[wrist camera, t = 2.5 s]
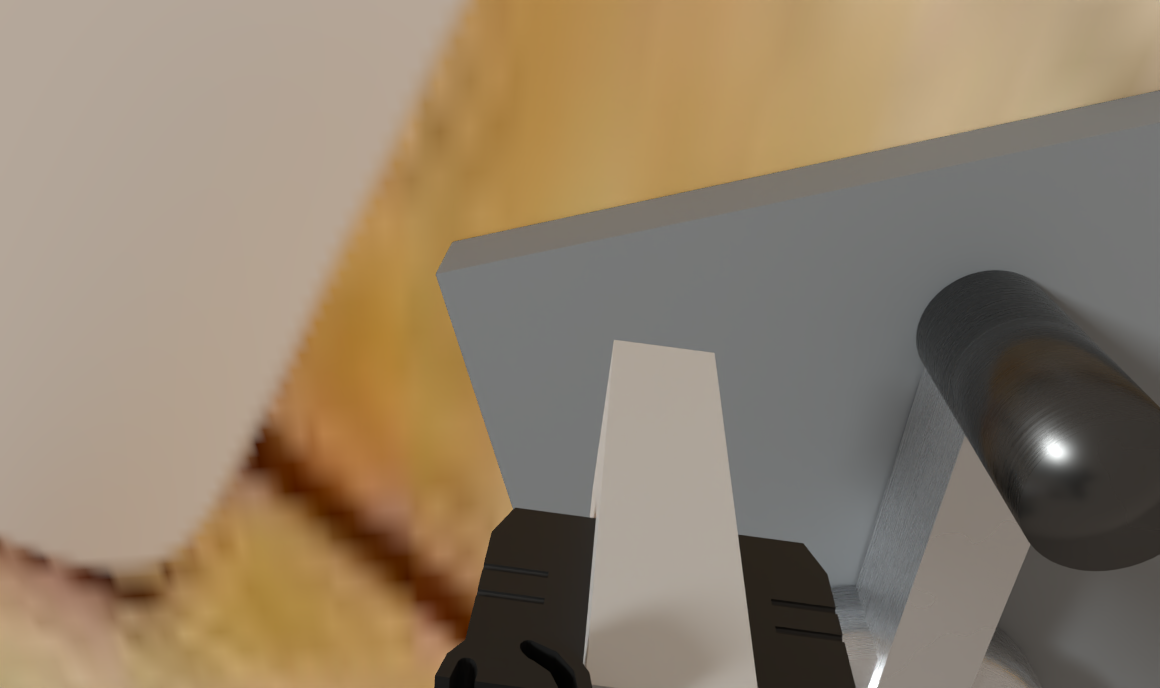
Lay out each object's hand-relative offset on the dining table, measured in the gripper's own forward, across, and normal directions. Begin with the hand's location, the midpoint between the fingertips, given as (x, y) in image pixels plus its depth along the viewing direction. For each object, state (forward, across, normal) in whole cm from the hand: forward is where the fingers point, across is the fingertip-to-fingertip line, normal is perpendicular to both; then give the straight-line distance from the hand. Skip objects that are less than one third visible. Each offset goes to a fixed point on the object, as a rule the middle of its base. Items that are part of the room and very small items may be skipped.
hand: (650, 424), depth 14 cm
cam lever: (+6, -7, +8) cm, 12 cm away
